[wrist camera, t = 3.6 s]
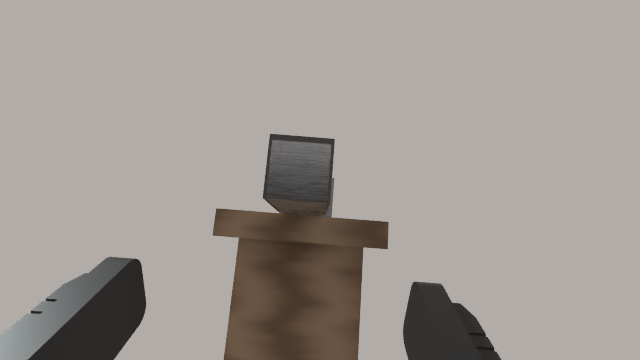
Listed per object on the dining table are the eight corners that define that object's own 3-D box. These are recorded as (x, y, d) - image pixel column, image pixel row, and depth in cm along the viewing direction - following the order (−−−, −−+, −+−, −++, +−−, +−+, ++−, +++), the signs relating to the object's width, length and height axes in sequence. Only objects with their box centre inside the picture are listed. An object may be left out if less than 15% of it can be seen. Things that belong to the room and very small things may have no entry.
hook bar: (245, 196, 15) (255, 112, 16) (284, 222, 36) (288, 185, 37) (347, 204, 15) (352, 120, 16) (328, 226, 36) (330, 188, 37)
